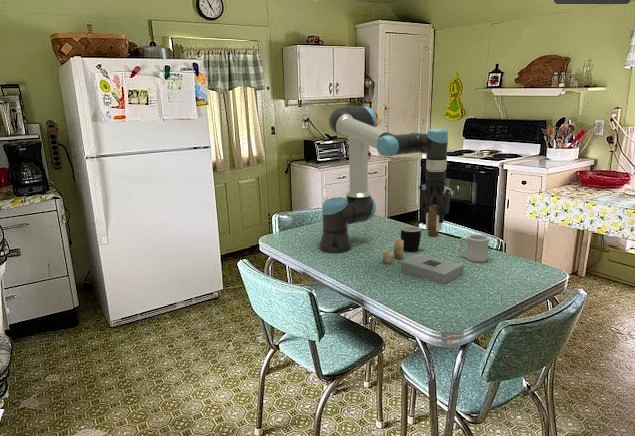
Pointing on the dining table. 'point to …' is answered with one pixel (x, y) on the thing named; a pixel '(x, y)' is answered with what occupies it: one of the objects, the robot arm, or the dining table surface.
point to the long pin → (432, 221)
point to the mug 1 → (411, 238)
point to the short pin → (387, 257)
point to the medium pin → (398, 248)
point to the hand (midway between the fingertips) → (433, 229)
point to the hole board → (432, 268)
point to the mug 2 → (476, 247)
